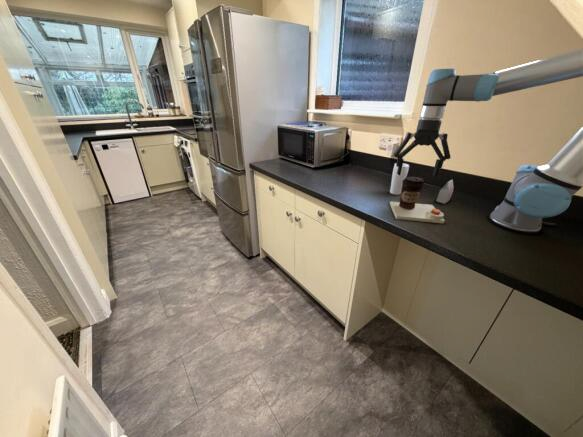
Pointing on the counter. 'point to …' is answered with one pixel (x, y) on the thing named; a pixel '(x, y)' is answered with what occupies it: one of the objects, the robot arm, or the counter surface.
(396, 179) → the drinking glass
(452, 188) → the grey tapered block
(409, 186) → the coffee cup
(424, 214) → the scale
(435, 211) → the button
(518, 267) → the counter surface
